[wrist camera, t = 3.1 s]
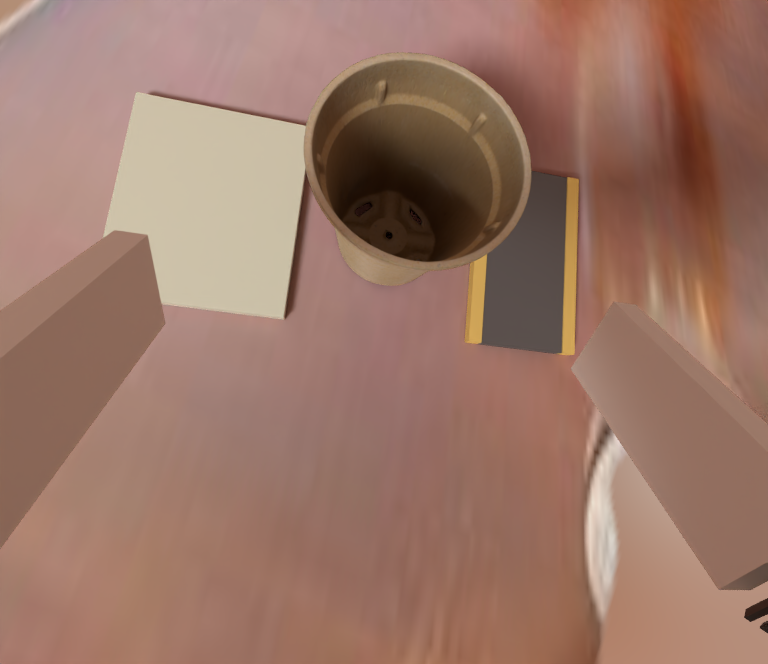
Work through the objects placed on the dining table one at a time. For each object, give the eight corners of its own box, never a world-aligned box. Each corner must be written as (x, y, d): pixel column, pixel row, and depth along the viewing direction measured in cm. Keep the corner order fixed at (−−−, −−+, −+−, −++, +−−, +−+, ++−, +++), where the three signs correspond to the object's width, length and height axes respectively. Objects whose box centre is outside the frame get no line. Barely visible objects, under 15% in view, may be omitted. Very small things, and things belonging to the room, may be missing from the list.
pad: (311, 133, 23) (311, 126, 23) (284, 319, 22) (283, 317, 21) (141, 99, 22) (136, 91, 21) (96, 296, 20) (90, 293, 20)
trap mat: (572, 184, 26) (578, 179, 25) (567, 355, 24) (574, 354, 23) (477, 165, 25) (481, 159, 24) (464, 342, 23) (468, 341, 22)
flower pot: (353, 141, 24) (370, 9, 15) (481, 211, 25) (563, 122, 16) (283, 266, 22) (257, 194, 14) (422, 337, 23) (480, 311, 14)
